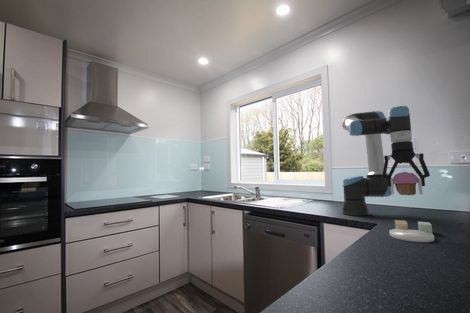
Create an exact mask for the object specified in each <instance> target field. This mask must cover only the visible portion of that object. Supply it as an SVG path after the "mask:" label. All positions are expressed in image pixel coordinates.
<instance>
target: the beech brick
mask: <svg viewBox="0 0 470 313" xmlns="http://www.w3.org/2000/svg"><path fill="white" fill-rule="evenodd" d="M408 225H409V224H408V222H407V220H397V219H395V220H394V229H409V226H408Z"/></svg>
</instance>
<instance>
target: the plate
mask: <svg viewBox="0 0 470 313" xmlns="http://www.w3.org/2000/svg"><path fill="white" fill-rule="evenodd" d="M388 233H389V235H388V236H390V237H391V238H394V239H395V240H396V239H397V240H401V241H404V242H405V241H406V242H413V243H431V242H434V241H435V235H434V234H433V233H432V234H431V233H428V232H424V231H419V229H418V230H417V229H411V228H410V229H409V228H408V229H396V228H392V229H389V231H388Z"/></svg>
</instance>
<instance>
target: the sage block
mask: <svg viewBox="0 0 470 313" xmlns="http://www.w3.org/2000/svg"><path fill="white" fill-rule="evenodd" d="M432 226H433V225H432V224H431V222H428V221H426V222H425V221H417V228H418V230H419V231H424V232H428V233H431V234H433V227H432Z"/></svg>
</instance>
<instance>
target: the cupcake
mask: <svg viewBox="0 0 470 313" xmlns="http://www.w3.org/2000/svg"><path fill="white" fill-rule="evenodd" d="M392 179H393V183H394V188H395V189H396V191H397V193H398V194H399V195H400V196H415V195H416V194H417V188H416V186H417V184H418V181H419V179H420V178H419V176H418V175H417V174H415V173H413V172H407V171H403V172H398V173H396V174H395V175H394V176H393V177H392Z"/></svg>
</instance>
